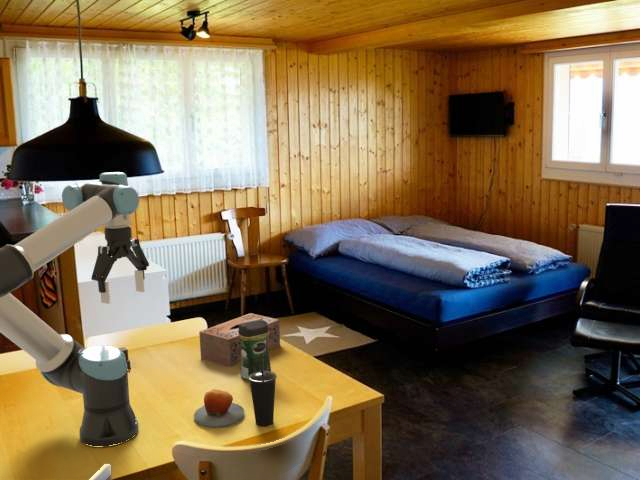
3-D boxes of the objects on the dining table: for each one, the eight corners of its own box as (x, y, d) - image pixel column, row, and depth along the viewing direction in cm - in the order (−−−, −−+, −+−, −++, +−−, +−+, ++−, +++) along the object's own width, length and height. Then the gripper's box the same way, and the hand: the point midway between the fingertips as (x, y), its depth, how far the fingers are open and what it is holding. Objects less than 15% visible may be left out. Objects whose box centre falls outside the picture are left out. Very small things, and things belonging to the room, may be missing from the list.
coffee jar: (262, 368, 224) (260, 315, 220) (274, 376, 217) (272, 321, 214) (236, 375, 219) (234, 321, 215) (248, 383, 212) (245, 327, 209)
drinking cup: (264, 414, 190) (261, 347, 186) (284, 421, 185) (281, 353, 182) (244, 424, 184) (241, 355, 181) (264, 432, 180) (261, 361, 176)
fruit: (195, 415, 184) (201, 386, 187) (207, 418, 192) (212, 390, 194) (222, 418, 182) (227, 388, 185) (233, 421, 189) (238, 392, 192)
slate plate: (223, 432, 180) (223, 428, 180) (183, 421, 187) (183, 417, 187) (254, 411, 192) (253, 407, 192) (215, 402, 199) (215, 398, 199)
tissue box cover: (230, 367, 226) (228, 339, 224) (201, 358, 235) (199, 331, 233) (280, 345, 246) (279, 319, 244) (251, 338, 255) (250, 313, 253)
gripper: (92, 234, 181) (99, 309, 185) (157, 220, 202) (162, 288, 206) (73, 232, 185) (80, 306, 189) (139, 218, 206) (144, 285, 210)
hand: (123, 297), depth 197 cm, fingers open, 13 cm apart
